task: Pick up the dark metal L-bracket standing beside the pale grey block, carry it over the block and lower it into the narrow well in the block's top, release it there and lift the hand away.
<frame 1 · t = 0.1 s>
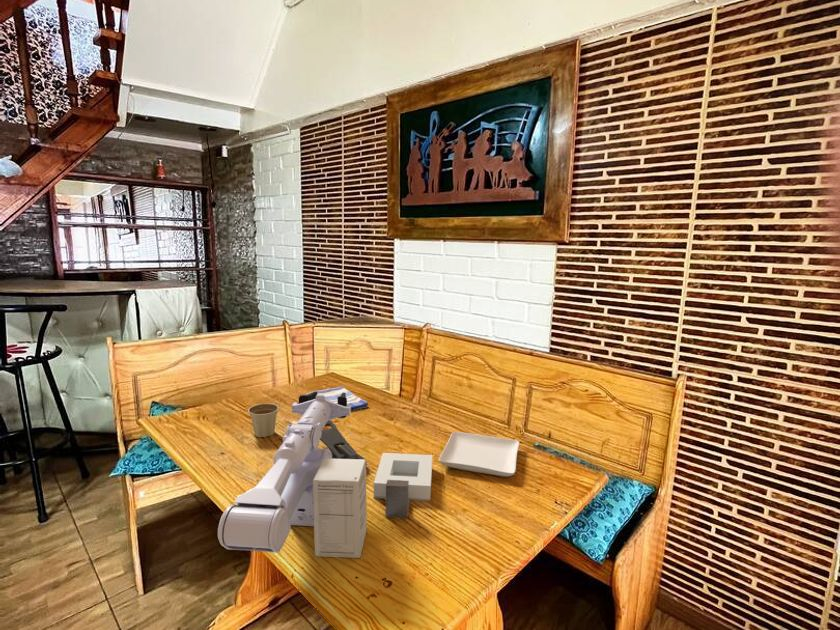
hand: (330, 395, 120), 22 cm above the table, tool horizontal, fingers open, 7 cm apart
zipper pull: (336, 457, 131), on the table
supplement box: (341, 543, 94), on the table
well block: (404, 482, 118), on the table
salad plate: (480, 460, 132), on the table
bracket: (397, 511, 106), on the table
dish towel: (336, 403, 175), on the table
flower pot: (264, 434, 146), on the table
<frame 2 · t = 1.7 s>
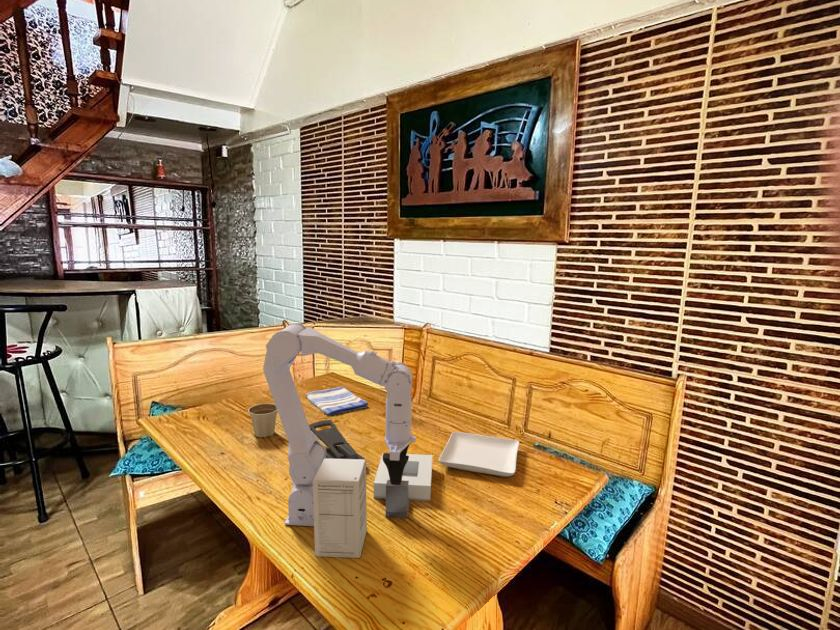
hand: (397, 474, 103), 10 cm above the table, tool pointing down, fingers open, 7 cm apart
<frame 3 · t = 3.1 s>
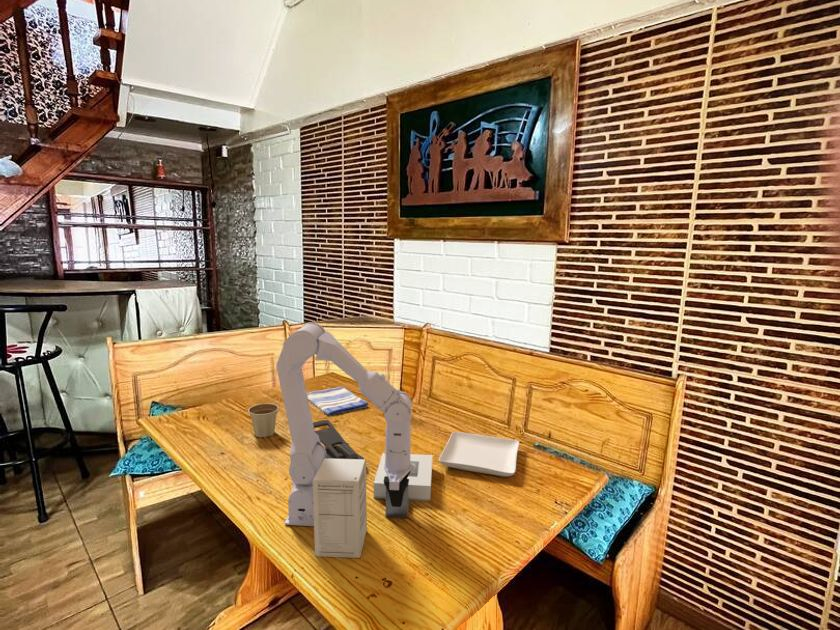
hand: (397, 502, 104), 3 cm above the table, tool pointing down, fingers closed on bracket, 2 cm apart
bracket: (397, 511, 106), on the table, touching gripper
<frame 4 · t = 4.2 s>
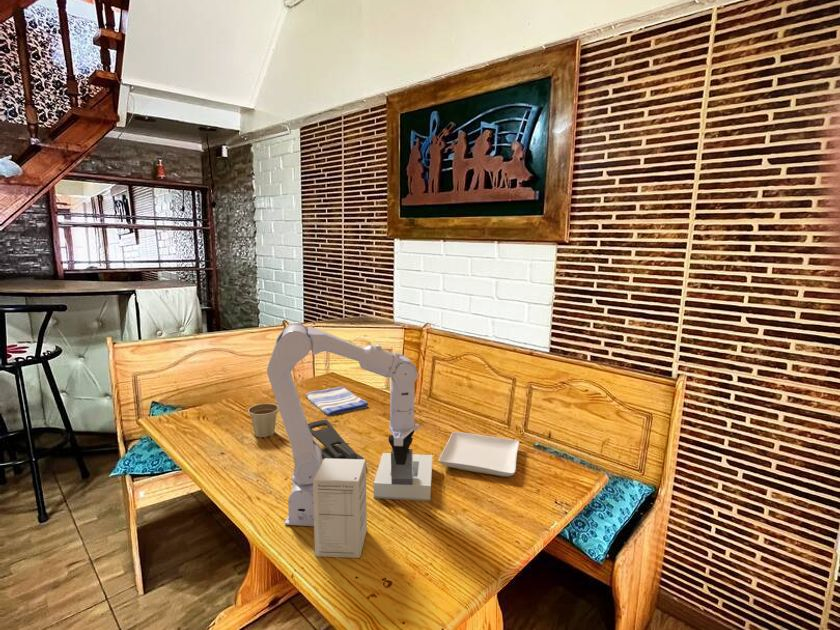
hand: (401, 460, 108), 10 cm above the table, tool pointing down, fingers closed on bracket, 2 cm apart
bracket: (402, 479, 110), point 5 cm above the table, touching gripper
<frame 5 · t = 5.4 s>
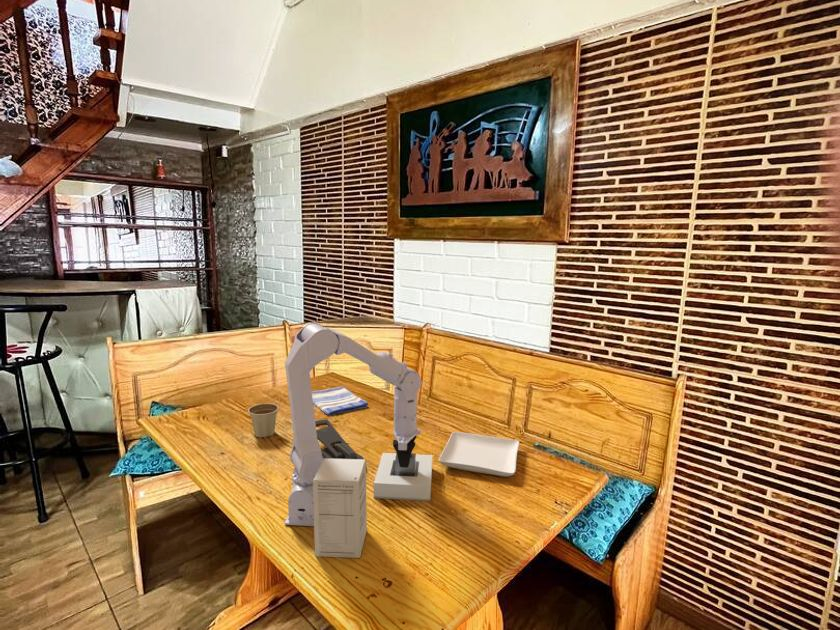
hand: (404, 463, 116), 6 cm above the table, tool pointing down, fingers closed on bracket, 2 cm apart
bracket: (405, 481, 118), resting on well block, touching gripper
when the fingers open (5 cm above the table, at t = 5.9 s): bracket stays where it is, resting on well block.
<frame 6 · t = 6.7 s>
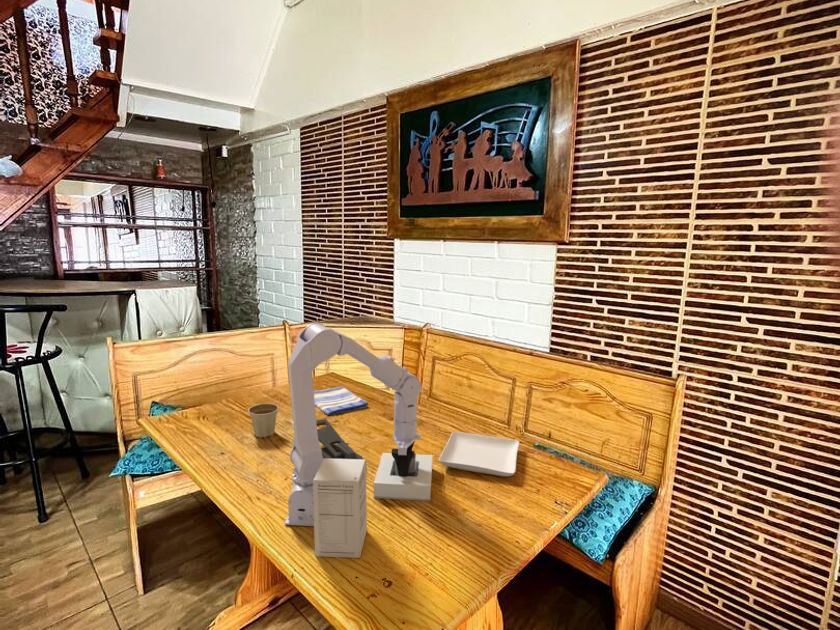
hand: (404, 468, 116), 5 cm above the table, tool pointing down, fingers open, 7 cm apart
bracket: (405, 481, 118), resting on well block
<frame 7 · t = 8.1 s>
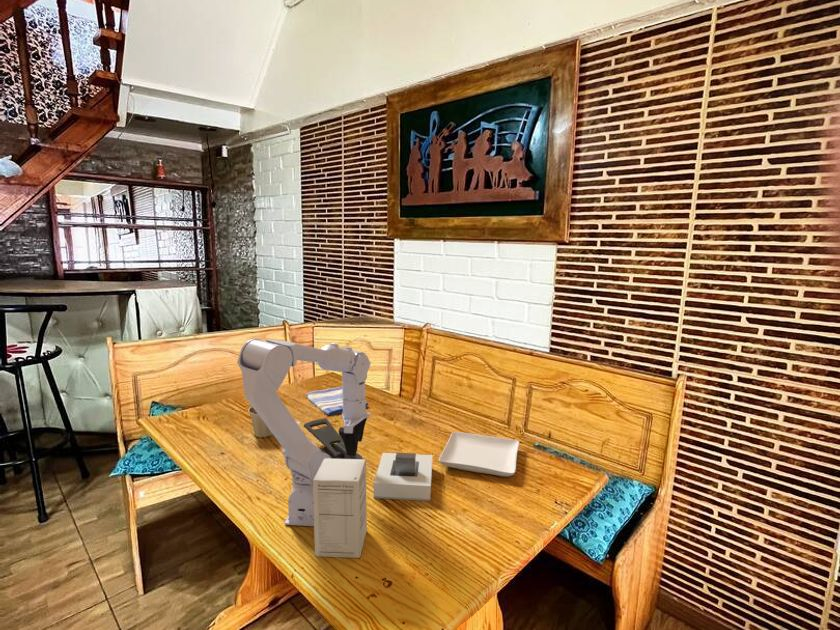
hand: (354, 447, 115), 10 cm above the table, tool pointing down, fingers open, 7 cm apart
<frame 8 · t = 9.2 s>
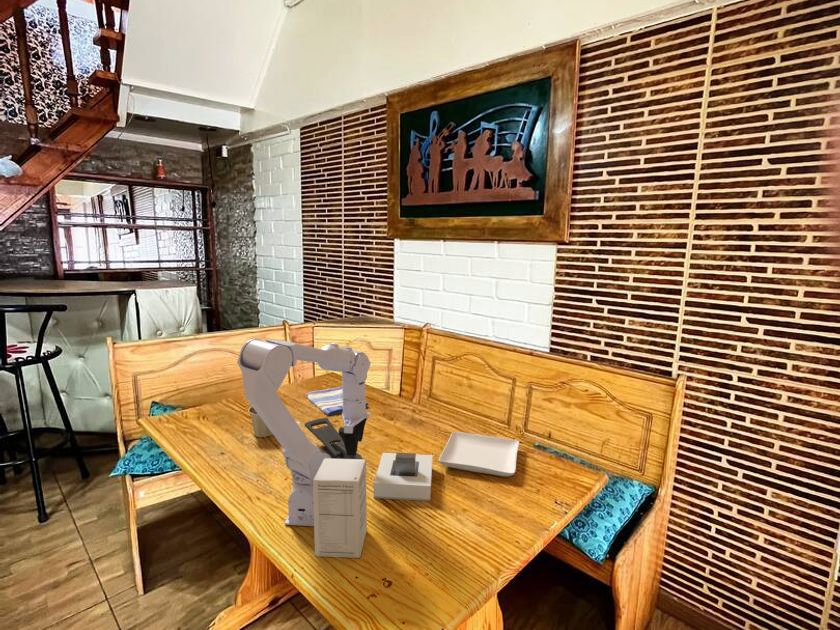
hand: (354, 447, 115), 10 cm above the table, tool pointing down, fingers open, 7 cm apart
at the end: bracket 0.3 cm off-centre on the well block, point 0.5 cm above the well block's base; bracket tilted 0°; the gripper is holding nothing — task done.
